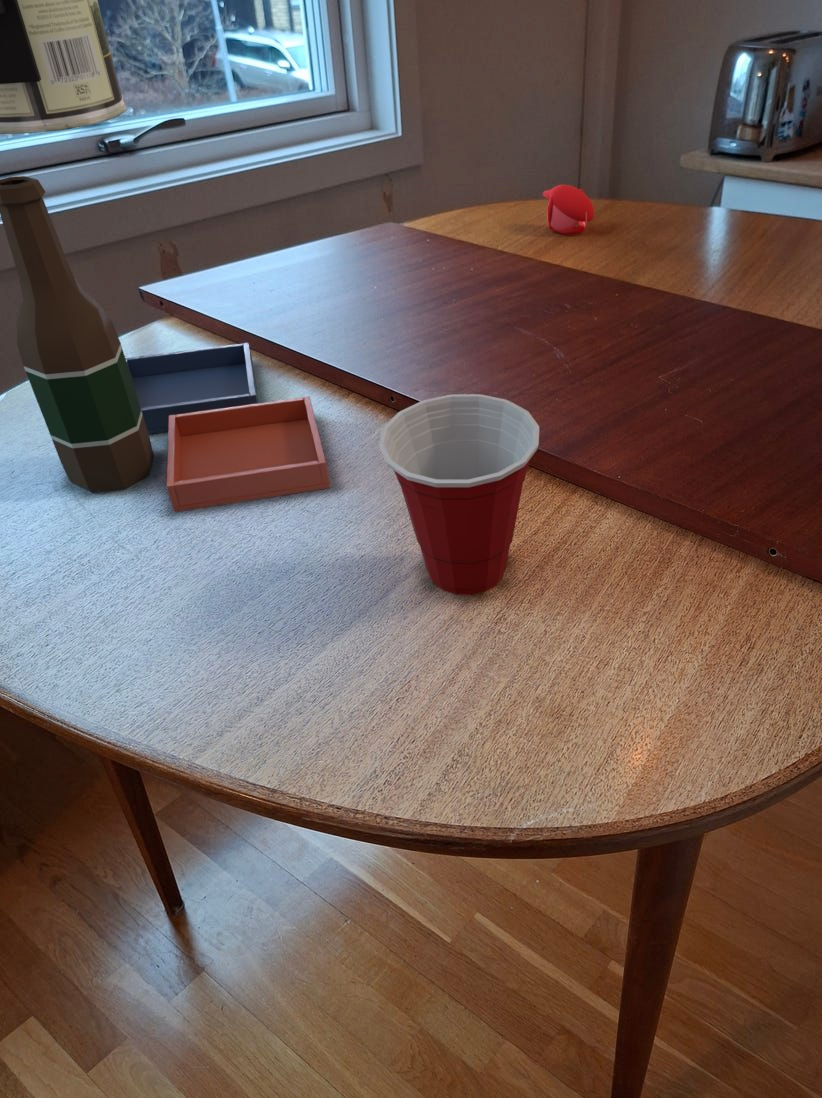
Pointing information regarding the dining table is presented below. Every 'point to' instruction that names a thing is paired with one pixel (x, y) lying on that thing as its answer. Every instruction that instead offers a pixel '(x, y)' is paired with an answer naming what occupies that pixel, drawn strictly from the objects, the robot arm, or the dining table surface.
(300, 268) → the dining table surface
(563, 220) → the cap
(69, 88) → the coffee can
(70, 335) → the beer bottle
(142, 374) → the slate tray
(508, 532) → the plastic cup
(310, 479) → the terracotta tray
